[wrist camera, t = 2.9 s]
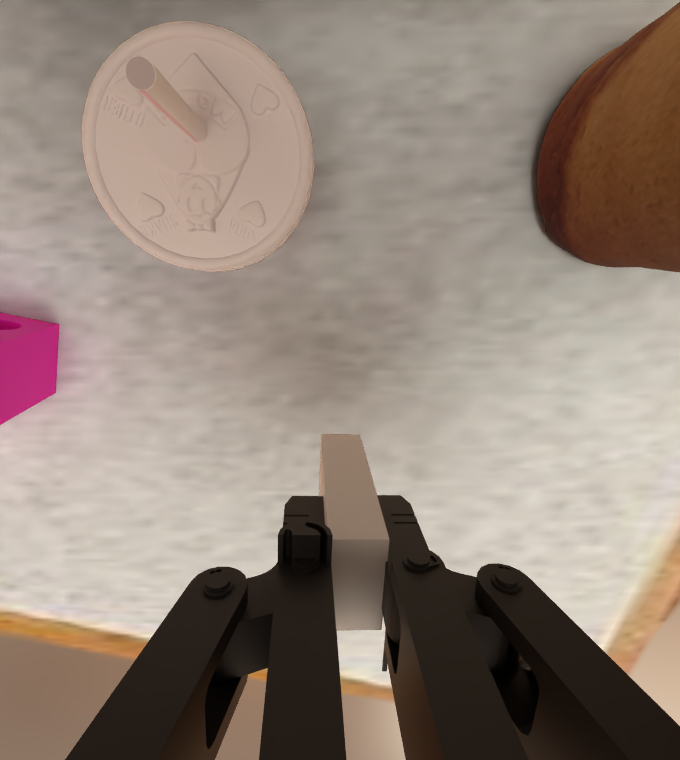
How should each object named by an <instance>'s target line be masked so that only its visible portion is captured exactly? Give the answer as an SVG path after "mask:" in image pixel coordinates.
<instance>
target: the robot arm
mask: <svg viewBox="0 0 680 760" xmlns="http://www.w3.org/2000/svg"><path fill="white" fill-rule="evenodd" d="M383 617H384V622H385V627H386V632H385V643H384V654H383V666H382V671H387V663H388V668H389V673H390V679H391V684H392V689H393V695H394V700H395V705H396V710H397V716H398V721H399V726H400V731H401V737H402V742H403V747H404V753H405V758H406V760H680V726H679V725H678V724H677V723H676V722H675V721H674V720H673V719H672V718H671V717H670V716H669V715H668V714H667V713H666V712H665V711H664V710H663V709H662V708H661V707H660V706H659V705H658V704H657V703H656V702H655V701H654V700H653V699H651V697H650V696H648V695H647V693H645V692H644V691H643V690H642V689H641V688H640V687H639V686H638V685H637V684H636V683H635V682H634V681H633V680H632V679H631V678H630V677H629V676H628V675H627V674H626V673H625V672H624V671H623V670H622V669H621V668H620V667H619V666H618V665H617V664H616V663H615V662H614V661H613V660H612V659H611V658H610V657H609V656H608V655H607V654H606V653H605V652H604V651H603V650H602V649H601V648H600V647H599V646H598V645H597V644H596V643H595V642H594V641H593V640H592V639H591V638H590V637H589V636H588V635H587V634H586V633H585V632H584V631H583V630H582V629H581V628H580V627H578V626H577V625H576V624H575V623H574V622H573V621H572V620H571V619H570V618H569V617H568V616H567V615H566V614H565V613H564V612H563V611H562V610H561V609H560V608H559V607H558V606H557V605H556V604H555V603H554V602H553V601H552V600H551V599H550V598H549V597H548V596H547V595H546V594H545V593H544V592H543V591H542V590H541V589H540V588H539V587H538V586H537V585H536V584H535V583H534V582H533V581H532V580H531V579H530V578H529V577H528V576H526V575H525V574H524V573H522V572H521V571H520V570H517V569H515V568H513V567H511V566H507V565H503V564H488V565H485V566H483V567H481V568H480V570H479V571H478V573H477V577H473V576H469V575H464V574H460V573H457V572H453V571H451V570H449V569H447V568H446V567H445V565H444V563H443V561H442V560H441V558H440V557H439V556H438V555H436V554H435V553H433V552H432V551H430V550H429V549H428V546H427V544H426V541H425V539H424V536H423V534H422V531H421V529H420V527H419V524H418V522H417V519H416V517H415V516H414V512H413V509H412V507H411V504H410V503H409V502H407V501H406V500H405V499H404V498H403V497H402V496H400V495H377V493H376V490H375V486H374V483H373V479H372V476H371V472H370V469H369V465H368V462H367V458H366V454H365V451H364V447H363V444H362V440H361V437H360V435H353V434H321V451H320V477H319V496H292V497H291V498H290V499H289V501H288V502H287V503H286V504H285V510H284V521H283V527H282V528H281V530H280V532H279V534H278V562H277V564H276V565H275V566H274V567H273V568H272V569H271V570H269V571H267V572H266V573H264V574H261V575H258V576H255V577H251V578H247V579H246V577H245V575H244V574H243V573H242V572H241V571H239V570H237V569H234V568H231V567H216V568H211V569H208V570H206V571H204V572H202V573H200V574H198V575H197V576H196V577H195V578H194V579H193V580H192V581H191V582H190V584H189V585H188V587H187V588H186V589H185V591H184V592H183V594H182V595H181V596H180V598H179V599H178V601H177V602H176V604H175V605H174V606H173V608H172V609H171V611H170V612H169V613H168V615H167V616H166V618H165V619H164V621H163V622H162V623H161V625H160V626H159V628H158V629H157V630H156V632H155V633H154V635H153V636H152V637H151V639H150V640H149V642H148V643H147V645H146V646H145V647H144V649H143V650H142V652H141V653H140V654H139V656H138V657H137V659H136V660H135V662H134V663H133V664H132V666H131V667H130V669H129V670H128V671H127V673H126V674H125V676H124V677H123V679H122V680H121V681H120V683H119V684H118V686H117V687H116V688H115V690H114V691H113V693H112V694H111V696H110V697H109V698H108V700H107V701H106V703H105V704H104V706H103V707H102V708H101V710H100V711H99V713H98V714H97V715H96V717H95V718H94V720H93V721H92V723H91V724H90V725H89V727H88V728H87V730H86V731H85V733H84V734H83V735H82V737H81V738H80V740H79V741H78V742H77V744H76V745H75V747H74V748H73V750H72V751H71V752H70V754H69V755H68V756H67V758H66V759H65V760H215V758H216V755H217V753H218V750H219V748H220V746H221V743H222V740H223V738H224V736H225V733H226V731H227V728H228V726H229V724H230V721H231V718H232V716H233V714H234V711H235V709H236V706H237V704H238V701H239V699H240V697H241V694H242V692H243V689H244V686H245V684H246V682H247V677H248V674H250V673H253V672H256V671H259V670H262V669H265V668H268V672H267V682H266V693H265V704H264V715H263V724H262V735H261V745H260V755H259V760H346V751H345V738H344V724H343V711H342V698H341V685H340V672H339V659H338V646H337V632H336V630H381V629H382V618H383Z"/></svg>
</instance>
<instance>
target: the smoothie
mask: <svg viewBox="0 0 680 760" xmlns="http://www.w3.org/2000/svg"><path fill="white" fill-rule="evenodd" d="M82 148H83V155H84V161H85V165H86V169H87V173H88V176H89V179H90V182H91V184H92V187H93V189H94V191H95V194H96V196H97V198H98V199H99V201H100V203H101V205H102V207H103V208H104V210H105V211H106V213H107V214H108V216H109V217H110V218H111V220H112V221H113V222H114V223H115V225H116V226H117V227H118V228H119V229H120V230H121V231H122V232H123V233H124V235H126V236H127V237H128V238H129V239H130V240H131V241H132V242H133V243H135V244H136V245H137V246H139V247H140V248H141V249H143V250H144V251H146V252H147V253H149V254H151V255H152V256H154V257H156V258H158V259H160V260H162V261H165V262H167V263H170V264H172V265H175V266H179V267H182V268H187V269H192V270H201V271H207V272H216V271H228V270H237V269H240V268H242V267H245V266H248V265H250V264H253V263H256V262H258V261H261V260H262V259H264V258H265V257H266V256H268V255H269V254H271V253H272V252H273V251H275V250H276V249H277V248H279V247H280V246H281V245H283V243H284V242H285V241H286V239H287V238H288V237H289V236H290V234H291V233H292V232H293V231H294V229H295V228H296V227H297V225H298V224H299V222H300V220H301V218H302V215H303V213H304V211H305V208H306V206H307V204H308V201H309V199H310V195H311V189H312V182H313V176H314V169H315V166H314V155H313V143H312V136H311V133H310V130H309V126H308V122H307V119H306V116H305V113H304V110H303V107H302V105H301V102H300V100H299V98H298V96H297V94H296V92H295V90H294V88H293V87H292V85H291V83H290V82H289V80H288V79H287V77H286V76H285V75H284V73H283V72H282V71H281V69H280V68H279V67H278V66H277V65H276V64H275V62H274V61H273V60H272V59H271V58H270V57H269V56H268V55H267V54H265V53H264V52H263V51H262V50H261V49H260V48H258V47H257V46H256V45H254V44H253V43H252V42H250V41H249V40H247V39H245V38H244V37H242V36H240V35H238V34H236V33H234V32H232V31H230V30H228V29H225V28H222V27H220V26H216V25H212V24H208V23H203V22H196V21H176V22H168V23H163V24H158V25H155V26H152V27H149V28H147V29H145V30H143V31H140V32H138V33H136V34H135V35H133V36H132V37H130V38H128V39H127V40H126V41H124V42H123V43H122V44H121V45H119V46H118V47H117V48H116V49H115V50H114V51H113V52H112V53H111V54H110V55H109V56H108V58H107V59H106V60H105V62H104V63H103V64H102V66H101V67H100V69H99V71H98V72H97V74H96V76H95V78H94V80H93V82H92V84H91V86H90V89H89V92H88V95H87V98H86V102H85V107H84V111H83V119H82Z"/></svg>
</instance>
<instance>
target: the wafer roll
mask: <svg viewBox="0 0 680 760" xmlns="http://www.w3.org/2000/svg"><path fill="white" fill-rule="evenodd" d="M537 198H538V204H539V209H540V213H541V215H542V216H543V218H544V220H545V232H546V233H547V234H548V235H549V237H550V238H551V239H552V240H553V241H554V242H555V243H556V244H557V245H558V246H560V247H561V248H562V249H564V250H566V251H568V252H569V253H571V254H572V255H574V256H575V257H577V258H579V259H581V260H583V261H585V262H588V263H591V264H595V265H600V266H606V267H643V268H650V269H658V270H665V271H673V272H680V2H679V3H678V4H677V5H675V6H674V7H673V8H671V9H670V10H669V11H668V12H666V13H665V14H664V15H663V16H661V17H659V18H658V19H656V20H655V21H653V22H652V23H650V24H649V25H647V26H646V27H645V28H643V29H642V30H640V31H639V32H638V33H636V34H635V35H634V36H633V37H631V38H630V39H629V40H628V41H626V42H625V43H624V44H623V45H622V46H620V47H618V48H616V49H614V50H612V51H610V52H609V53H607V54H606V55H604V56H603V57H601V58H600V59H599V60H597V61H596V62H595V63H594V64H592V65H591V66H590V67H589V68H588V69H587V70H586V71H585V72H584V73H583V74H582V75H581V77H580V78H579V79H578V80H577V81H576V83H575V84H574V85H573V86H572V88H571V89H570V90H569V92H568V93H567V94H566V96H565V97H564V99H563V100H562V102H561V103H560V105H559V106H558V108H557V109H556V111H555V113H554V115H553V117H552V119H551V121H550V123H549V126H548V128H547V131H546V133H545V137H544V140H543V143H542V147H541V151H540V155H539V161H538V170H537Z"/></svg>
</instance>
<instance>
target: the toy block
mask: <svg viewBox="0 0 680 760" xmlns="http://www.w3.org/2000/svg"><path fill="white" fill-rule="evenodd" d="M58 339H59V324H55V323H50V322H45V321H40V320H35V319H30V318H25V317H19V316H14V315H9V314H4V313H0V425H1V424H3V423H4V422H6V421H8V420H9V419H11V418H13V417H15V416H16V415H18V414H20V413H22V412H23V411H25V410H27V409H28V408H30V407H32V406H34V405H35V404H37V403H39V402H40V401H42V400H44V399H46V398H47V397H49V396H51V395H52V394H54V393H56V377H57V358H58Z"/></svg>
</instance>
